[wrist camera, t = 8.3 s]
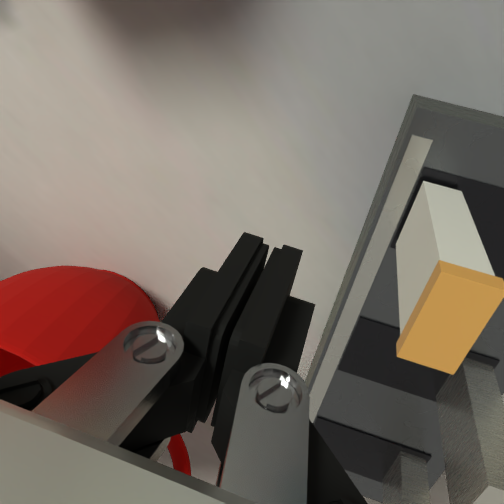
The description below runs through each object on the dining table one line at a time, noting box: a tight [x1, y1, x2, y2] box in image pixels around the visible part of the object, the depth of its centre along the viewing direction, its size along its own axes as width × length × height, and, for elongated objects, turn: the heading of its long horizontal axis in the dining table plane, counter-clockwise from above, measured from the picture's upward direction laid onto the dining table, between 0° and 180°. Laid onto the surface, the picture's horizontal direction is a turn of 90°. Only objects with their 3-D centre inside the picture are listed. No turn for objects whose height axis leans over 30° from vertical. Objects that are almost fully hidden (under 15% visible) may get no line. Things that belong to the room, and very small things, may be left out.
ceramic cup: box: [0, 266, 191, 476], centre depth 26 cm, size 13×17×10 cm
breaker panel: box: [305, 94, 504, 504], centre depth 21 cm, size 24×9×9 cm, turn 169°
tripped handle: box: [396, 181, 504, 375], centre depth 15 cm, size 3×2×7 cm, turn 169°
